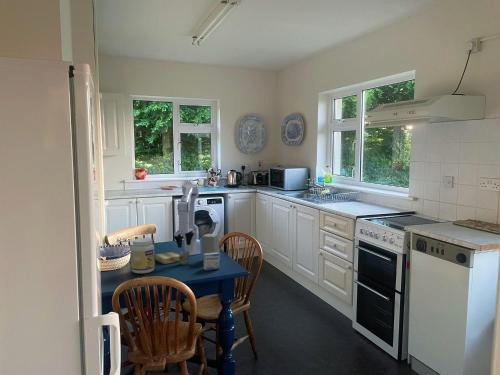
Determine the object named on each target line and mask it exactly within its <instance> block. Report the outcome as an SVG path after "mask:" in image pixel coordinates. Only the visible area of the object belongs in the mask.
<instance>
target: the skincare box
mask: <svg viewBox="0 0 500 375" xmlns="http://www.w3.org/2000/svg"><path fill="white" fill-rule="evenodd" d="M219 238H220V236H219V234H218V233H217V234H214V233H206V234H203V235H201V245H202V260H203V262H204V255H203V254H204V253H214V252H217V253H219V261H221V255H220V254H221V253H220V250H221V249H220V239H219Z"/></svg>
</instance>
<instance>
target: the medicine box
mask: <svg viewBox="0 0 500 375" xmlns="http://www.w3.org/2000/svg"><path fill="white" fill-rule="evenodd" d="M203 255H204V261H203V269H204V270H205V271H213V270H220V260H219V253H217V252H214V253H204V254H203V253H202V256H203Z"/></svg>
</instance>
